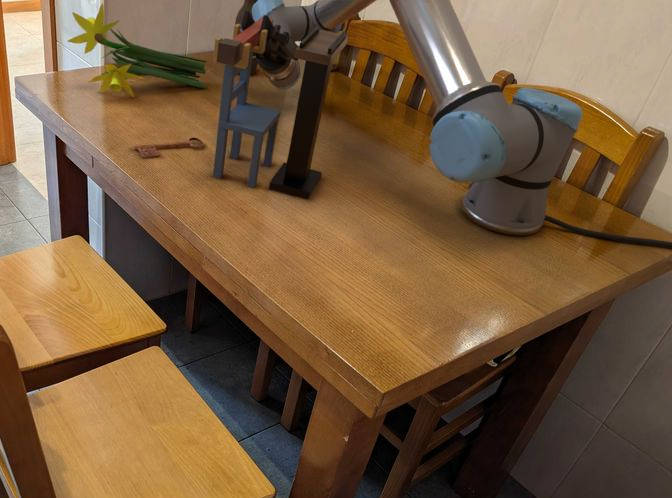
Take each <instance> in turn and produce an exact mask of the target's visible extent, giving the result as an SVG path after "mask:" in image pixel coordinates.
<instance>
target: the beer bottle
mask: <svg viewBox="0 0 672 498" xmlns="http://www.w3.org/2000/svg"><path fill="white" fill-rule="evenodd" d="M257 1H258V0H244V1H243V5H241V7H240V8H239V10H238V12H237V14H236V16H235V22H234V26H235V25H236V24H239V22H242V21H243V17H244V13H245V11H249V12H250V14H251V16H252V18H253V15H252V7H253V5H254V4H255V3H256V2H257ZM257 68H258V62H257V60H256V56H255V52H253V57H252V64H251V72H250V76H253V75H256V74H257ZM237 76H240V73H239V74H237Z"/></svg>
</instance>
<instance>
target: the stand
mask: <svg viewBox="0 0 672 498" xmlns="http://www.w3.org/2000/svg"><path fill="white" fill-rule="evenodd" d="M348 38H349V35H348V34H347V31H345V30H344V31H343V32H342V33H341V34H338V33H333V32H328V31H323V30H320V26H317V27H316V28H314V29H313V30H312V31H311V32H310V33H309V34H308V35H307V36H306V37H305V38H304V39H303V40H302V41H299V45H298V47H297V48H296V51H295V57H294V58H296V59H298V60H301V61H305V63H304V68H303V74H302V79H301V83H300V84H301V85H300V89H299V95H298V101H297V107H296V111H295V117H294V123H293V127H292V133H291V138H290V144H289V150H288V155H287V159H286V160H287V161H286V162H283V163H282V164H281V166H280V167H279V168H278V170H277V171H276V173H275V174H274V175H273V177H272V179H271V180H270V181H269V185H268V190H270V191H274V192H278V193H281V194H286V195H289V196H292V197H297V198H301V199H304V200H309V199H310V197H311V196H312V194H313V192H314V191H315V189H316V187H317V186H318V184H319V182H320V180H321V177H322V173H323V172H322V171H319V170H315V169H311V166H312V161H313V158H314V153H315V147H316V143H317V137H318V133H319V128H320V124H321V119H322V114H323V109H324V105H325V100H326V95H327V90H328V86H329V81H330V77H331V72H332V71H331V67H332V63H333V60H334V59H335V58H336V57H337V55H338V54H339V53H340V54H341V52H342V51H343V49H344V48H345V47H346V45H347V43H348Z"/></svg>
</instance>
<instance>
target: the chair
mask: <svg viewBox="0 0 672 498" xmlns="http://www.w3.org/2000/svg"><path fill="white" fill-rule="evenodd" d="M240 28H241V25H240V24H236V25H235V24H234V25H233V31H232V32H233V33H232V39H233V38H235V37H236V36H237V35H239V34H240ZM267 31H268V30H262V31H261V36H260V43H259V46H255V47H253V48H252V49H251V50H250V46H251V44H249V43H246V44H245V45H244V47H243V55H242V57H241V58H240V61H239V62H238V63H237V64H236V65H234V66H231V65H227V64H224V68H223V76H222V77H223V78H222V87H221V95H220V96H221V97H220V104H219V105H220V106H219V115H218V116H219V117H218V126H217V135H216V144H215V153H214V162H213V172H212V177H213V178H217V179H222V177H223V176H224V171H225V163H226V162H225V161H226V152H227V147H228V146H227V145H228V137H229V136H228V135H229V131H231V132H232V136H231V143H230V151H229V152H230V153H229V158H231V159H234V160H238V159H239V158H240V154H241V146H242V139H243V134H244V135H247V136H251V137H253V144H252V151H251V157H250V165H249V171H248V173H249V174H248V179H247V184H246V185H247V187H250V188H255V187H256V186H257V182H258V175H259V170H260V168H259V167H260V162H261V155H262V150H263V142H264V136H265V135H266V134H267V138H266V144H265V151H264V157H263V163H262V164H263V165H262V166H265V167H269V168H270V167H271V166H272V162H273V157H274V151H275V145H276V139H277V134H278V133H277V132H278V128H279V127H278V126H279V121H280V117H281V113H282V111H281V110H280V109H276V108H271V107H267V106H262V105H258V104H254V103H250V102H248V94H249V87H250V79H251V78H250V77H251V75H250V72H251V64H252V57H253V52H255V53H260V54H263V53H264V52H265V45H266V38H267ZM221 40H223V37H221V36H217V37H216V38H215V39H214V49H213V57H212V58H213V59H212V62H213V63H216V64H220V65H223V64H222V63H218V62H217V53H218V43H219V42H220V41H221ZM239 73H240V75H239V79H238V82H237V83H235V77H237V76H238V74H239ZM234 84H235V85H234ZM235 99H236V103H235V106H234V107H233V108H232V103H233V101H234V100H235Z"/></svg>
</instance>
